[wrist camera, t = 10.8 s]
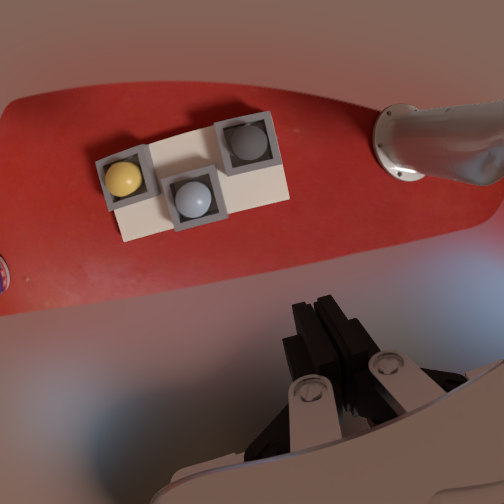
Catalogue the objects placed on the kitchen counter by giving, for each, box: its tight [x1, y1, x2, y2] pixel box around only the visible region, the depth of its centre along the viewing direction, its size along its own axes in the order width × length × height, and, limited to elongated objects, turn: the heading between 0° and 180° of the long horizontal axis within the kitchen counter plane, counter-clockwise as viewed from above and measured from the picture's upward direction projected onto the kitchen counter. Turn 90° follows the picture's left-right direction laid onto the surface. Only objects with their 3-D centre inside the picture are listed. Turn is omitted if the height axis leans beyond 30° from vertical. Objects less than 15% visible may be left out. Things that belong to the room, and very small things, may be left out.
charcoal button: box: [231, 125, 267, 160], centre depth 34 cm, size 4×4×4 cm
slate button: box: [175, 180, 212, 218], centre depth 36 cm, size 4×4×4 cm
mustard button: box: [105, 161, 144, 197], centre depth 34 cm, size 4×4×4 cm
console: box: [95, 111, 290, 242], centre depth 37 cm, size 24×12×5 cm, turn 103°
